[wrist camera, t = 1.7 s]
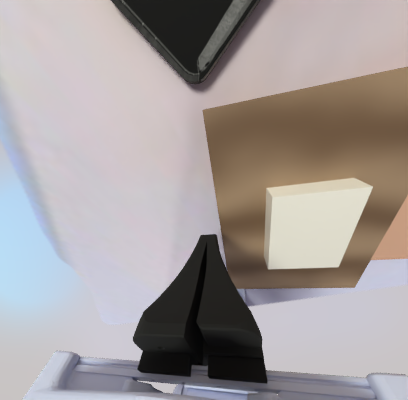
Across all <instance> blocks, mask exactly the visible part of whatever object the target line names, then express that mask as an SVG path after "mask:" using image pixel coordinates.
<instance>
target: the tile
mask: <svg viewBox="0 0 408 400" xmlns="http://www.w3.org/2000/svg"><path fill="white" fill-rule="evenodd" d="M372 188H373V186H371V185H368V184H366V183H364V182H362V181H360V180H358V179H356V178H348V179H339V180H331V181H322V182H314V183H305V184H296V185H288V186H279V187H271V188H266V213H265V240H264V258H265V261H266V264H267V268H268V269H298V268H330V267H339V265H340V263H341V260H342V258H343V256H344V253H345V251H346V249H347V246H348V244H349V242H350V239H351V237H352V235H353V233H354V230H355V228H356V226H357V223H358V221H359V219H360V216H361V214H362V212H363V209H364V207H365V205H366V202H367V200H368V198H369V195H370V193H371V191H372Z"/></svg>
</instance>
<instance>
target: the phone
mask: <svg viewBox="0 0 408 400" xmlns="http://www.w3.org/2000/svg"><path fill="white" fill-rule="evenodd" d="M111 1H112V2H113V3H114V4H115V5H116V6H117V7H118V9H119V10H120V11H121V12H122V13H123V14H124V15H125V16H126V17H127V18H128V19H129V20H130V21H131V22H132V24H133V25H134V26H135V27H136V28H137V29H138V30H139V31H140V32H141V33H142V34H143V35H144V36H145V38H146V39H147V40H148V41H149V42H150V43H151V44H152V45H153V46H154V47H155V48H156V49H157V50H158V51H159V53H160V54H161V55H162V56H163V57H164V58H165V59H166V60H167V61H168V62H169V63H170V64H171V65H172V66H173V68H174V69H175V70H176V71H177V72H178V73H179V74H180V75H181V76H182V77H183V78H184V79H185V80H186V81H187V82H189V83H192V84H199V83H201V82H203V81H204V80H205V79H206V78H207V77H208V75H209V74H210V72H211V71H212V69H213V68H214V66H215V65H216V64H217V62H218V61H219V59H220V58H221V56H222V55H223V53H224V52H225V50H226V49H227V48H228V46H229V45H230V43H231V42H232V40H233V39H234V37H235V36H236V35H237V33H238V32H239V30H240V29H241V27H242V26H243V24H244V23H245V22H246V20H247V19H248V17H249V16H250V14H251V13H252V11H253V10H254V9H255V7H256V6H257V4H258V3H259V1H260V0H111Z"/></svg>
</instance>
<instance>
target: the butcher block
mask: <svg viewBox="0 0 408 400" xmlns="http://www.w3.org/2000/svg"><path fill="white" fill-rule="evenodd" d="M203 116H204V122H205V129H206V135H207V142H208V148H209V155H210V161H211V167H212V174H213V180H214V187H215V193H216V200H217V206H218V213H219V219H220V225H221V232H222V238H223V245H224V251H225V258H226V264H227V271H228V274H229V276H230V278H231V280H232V282H233V283H234V285H235V287H236V289H270V288H355V286H356V284H357V282H358V281H359V279H360V277H361V275H362V274H363V272H364V270H365V269H366V267H367V265H368V263H369V262H370V260H371V258H372V256H373V255H374V253H375V251H376V249H377V248H378V246H379V244H380V242H381V241H382V239H383V237H384V235H385V234H386V232H387V230H388V229H389V227H390V225H391V223H392V222H393V220H394V218H395V216H396V215H397V213H398V211H399V209H400V208H401V206H402V204H403V202H404V201H405V199H406V197H407V195H408V67H404V68H399V69H394V70H390V71H385V72H380V73H375V74H371V75H366V76H361V77H357V78H352V79H347V80H342V81H338V82H333V83H328V84H323V85H319V86H314V87H309V88H305V89H300V90H295V91H290V92H286V93H281V94H276V95H271V96H267V97H262V98H257V99H252V100H248V101H243V102H238V103H234V104H229V105H224V106H219V107H215V108H210V109H205V110H203ZM348 178H356V179H358V180H360V181H362V182H364V183H366V184H368V185H371V186H373V188H372V191H371V193H370V195H369V198H368V200H367V202H366V205H365V207H364V209H363V212H362V214H361V216H360V219H359V221H358V223H357V226H356V228H355V230H354V233H353V235H352V237H351V239H350V242H349V244H348V246H347V249H346V251H345V253H344V256H343V258H342V260H341V263H340V265H339V267H330V268H298V269H268V268H267V264H266V261H265V258H264V240H265V213H266V188H271V187H279V186H288V185H296V184H305V183H314V182H322V181H331V180H339V179H348Z"/></svg>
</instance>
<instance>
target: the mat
mask: <svg viewBox="0 0 408 400" xmlns="http://www.w3.org/2000/svg"><path fill="white" fill-rule="evenodd" d="M383 259H408V195H407V197H406V199H405V201H404V202H403V204H402V206H401V208H400V209H399V211H398V213H397V215H396V216H395V218H394V220H393V222H392V223H391V225H390V227H389V229H388V230H387V232H386V234H385V235H384V237H383V239H382V241H381V242H380V244H379V246H378V248H377V249H376V251H375V253H374V255H373V256H372V258H371V260H383Z"/></svg>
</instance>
